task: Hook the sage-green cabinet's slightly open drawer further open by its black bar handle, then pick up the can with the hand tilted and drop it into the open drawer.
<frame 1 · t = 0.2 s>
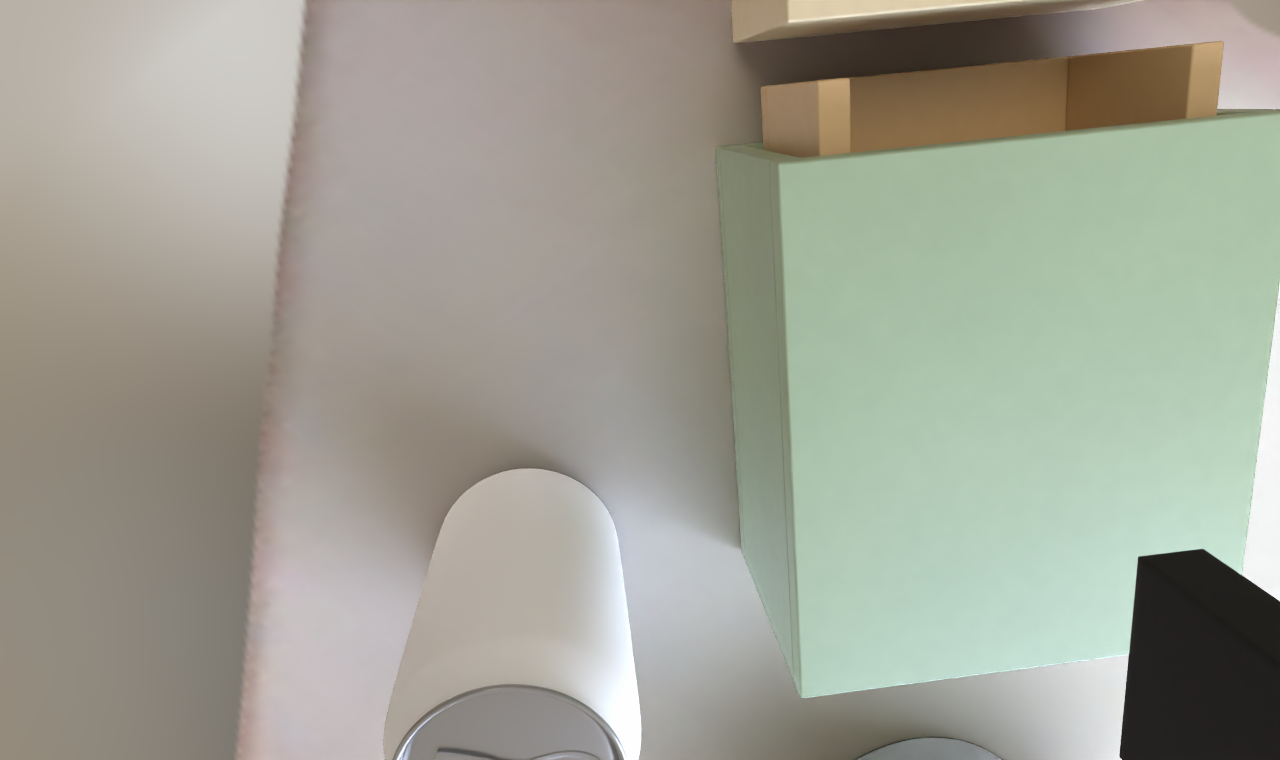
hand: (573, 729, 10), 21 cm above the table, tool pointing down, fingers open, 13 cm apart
can: (529, 543, 32), on the table
drawer: (964, 117, 24), point 4 cm above the table, slide at 3.0 cm
cabinet: (906, 343, 31), on the table
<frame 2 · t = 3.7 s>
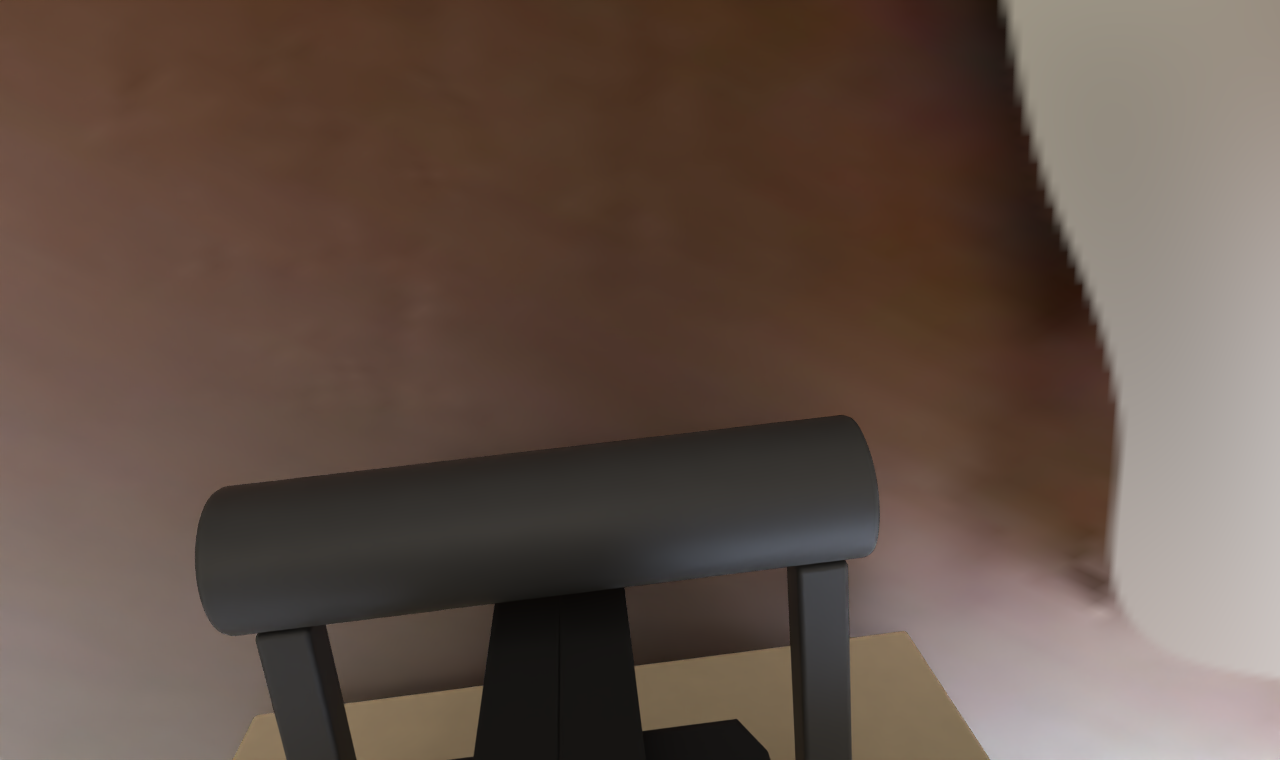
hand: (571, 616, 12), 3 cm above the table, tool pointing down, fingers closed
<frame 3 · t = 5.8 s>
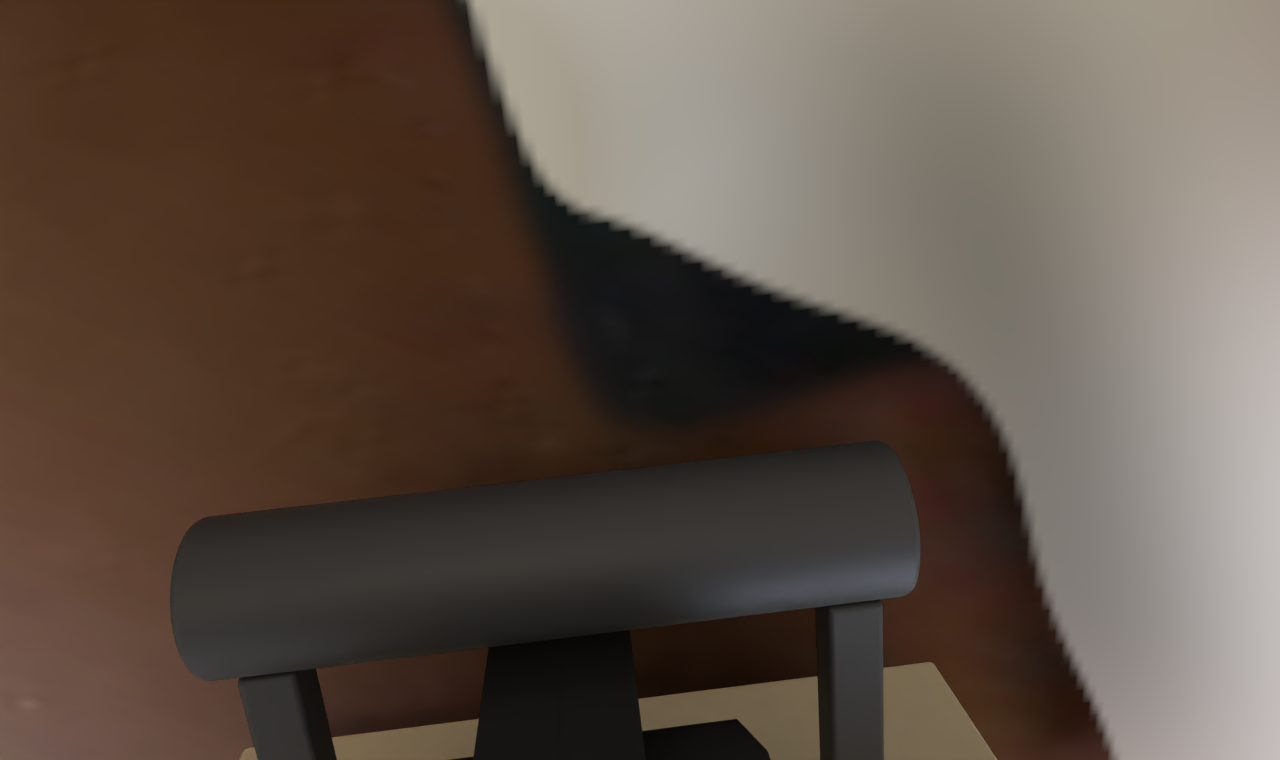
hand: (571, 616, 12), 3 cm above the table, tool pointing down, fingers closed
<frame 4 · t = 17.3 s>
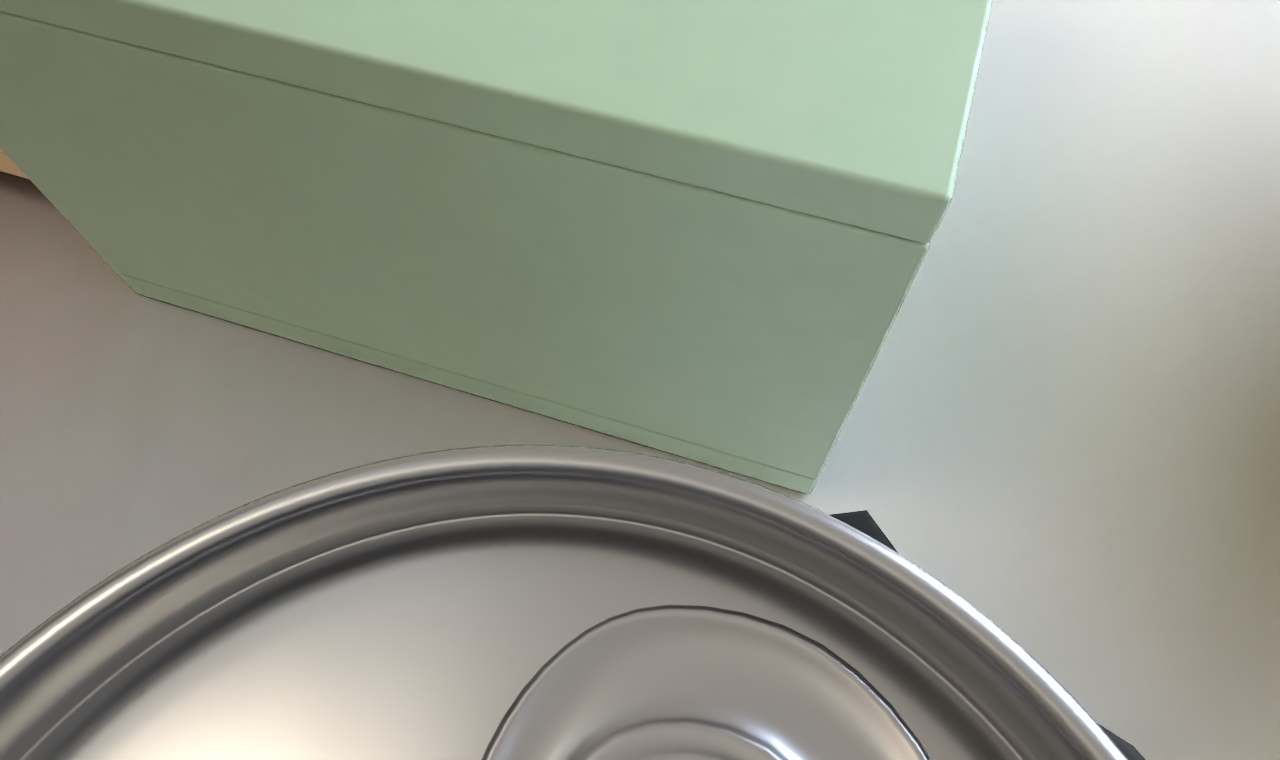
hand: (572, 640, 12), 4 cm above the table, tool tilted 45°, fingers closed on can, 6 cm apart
cabinet: (562, 157, 20), on the table
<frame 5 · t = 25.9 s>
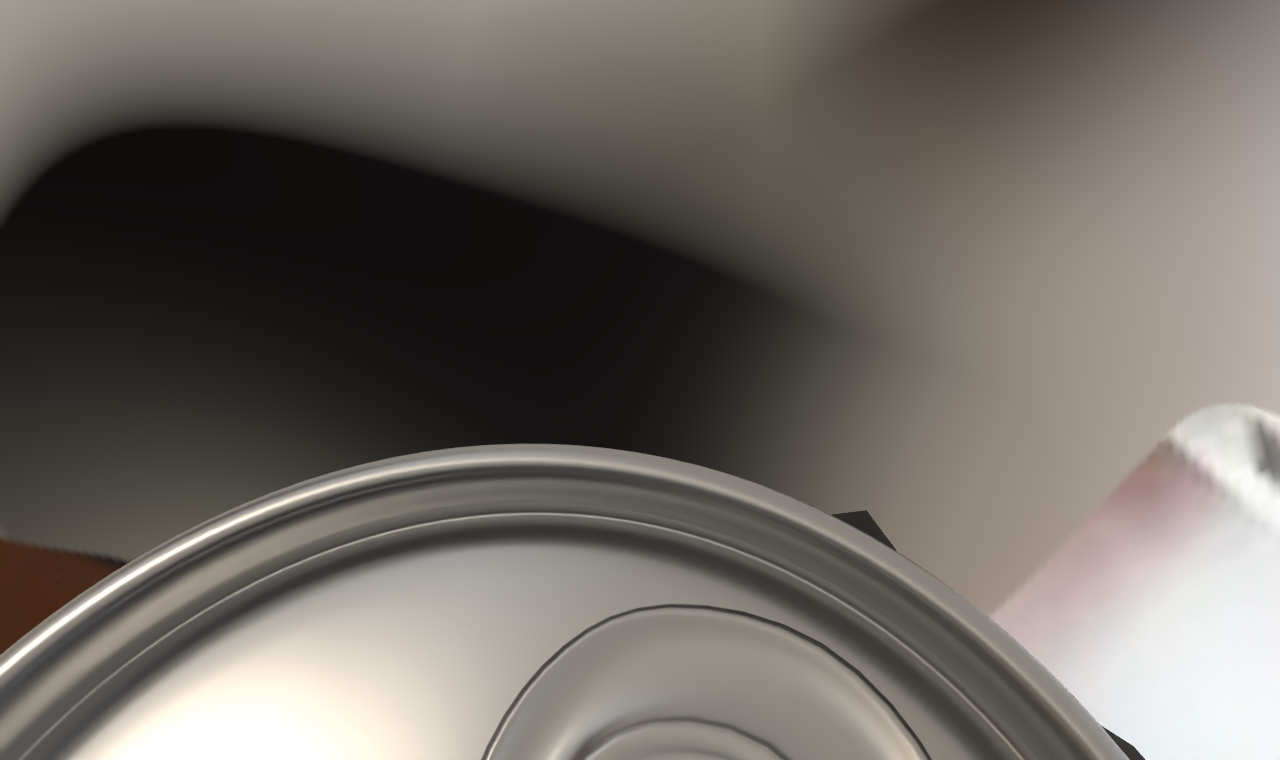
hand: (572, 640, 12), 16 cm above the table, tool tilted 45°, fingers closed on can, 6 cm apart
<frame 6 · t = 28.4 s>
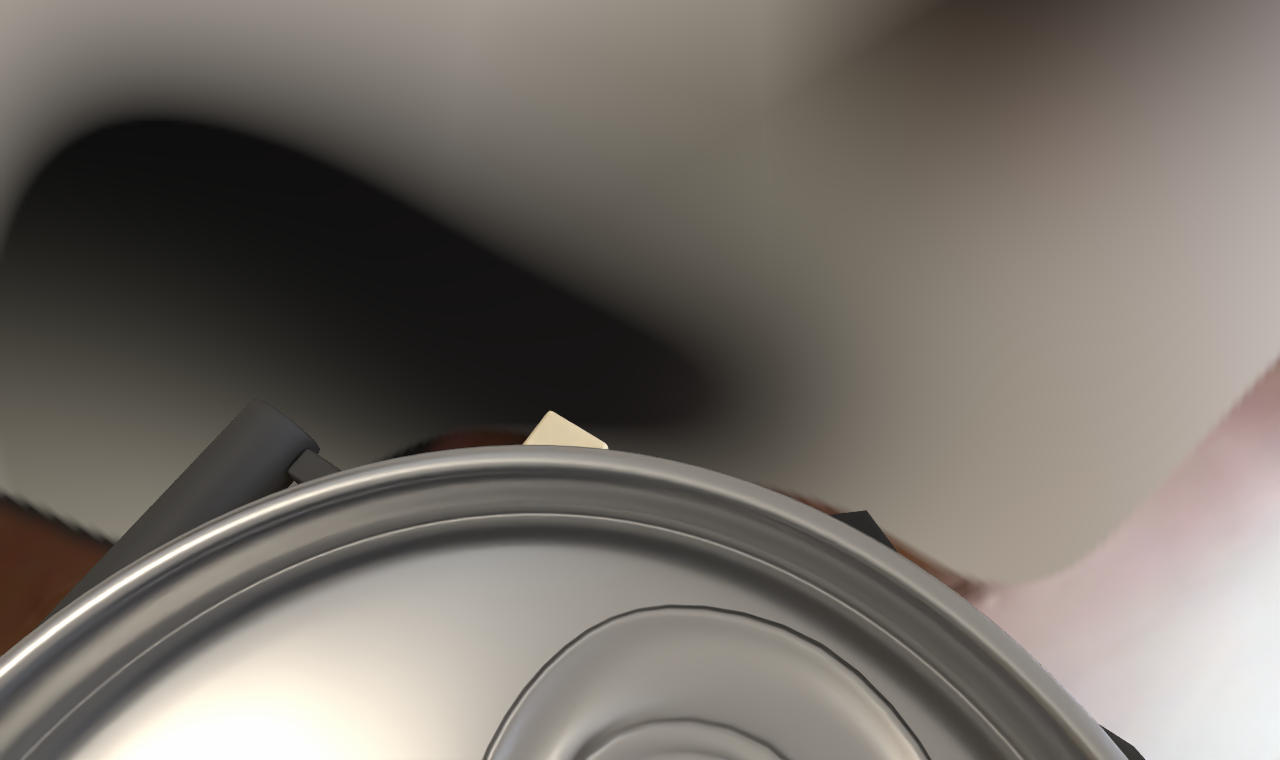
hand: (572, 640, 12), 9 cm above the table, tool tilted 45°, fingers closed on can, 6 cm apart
when the fingers open (10 cm above the table, at t = 34.8 s): can drops 3 cm, resting on drawer.
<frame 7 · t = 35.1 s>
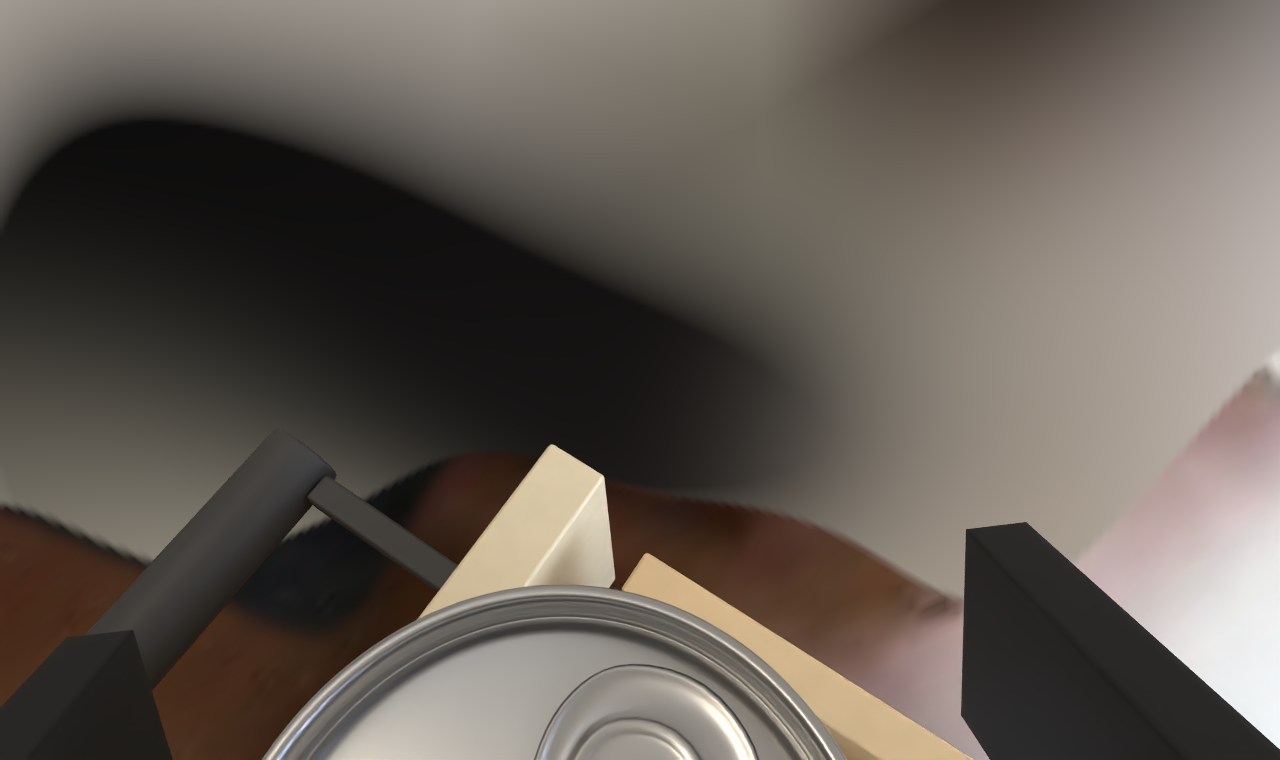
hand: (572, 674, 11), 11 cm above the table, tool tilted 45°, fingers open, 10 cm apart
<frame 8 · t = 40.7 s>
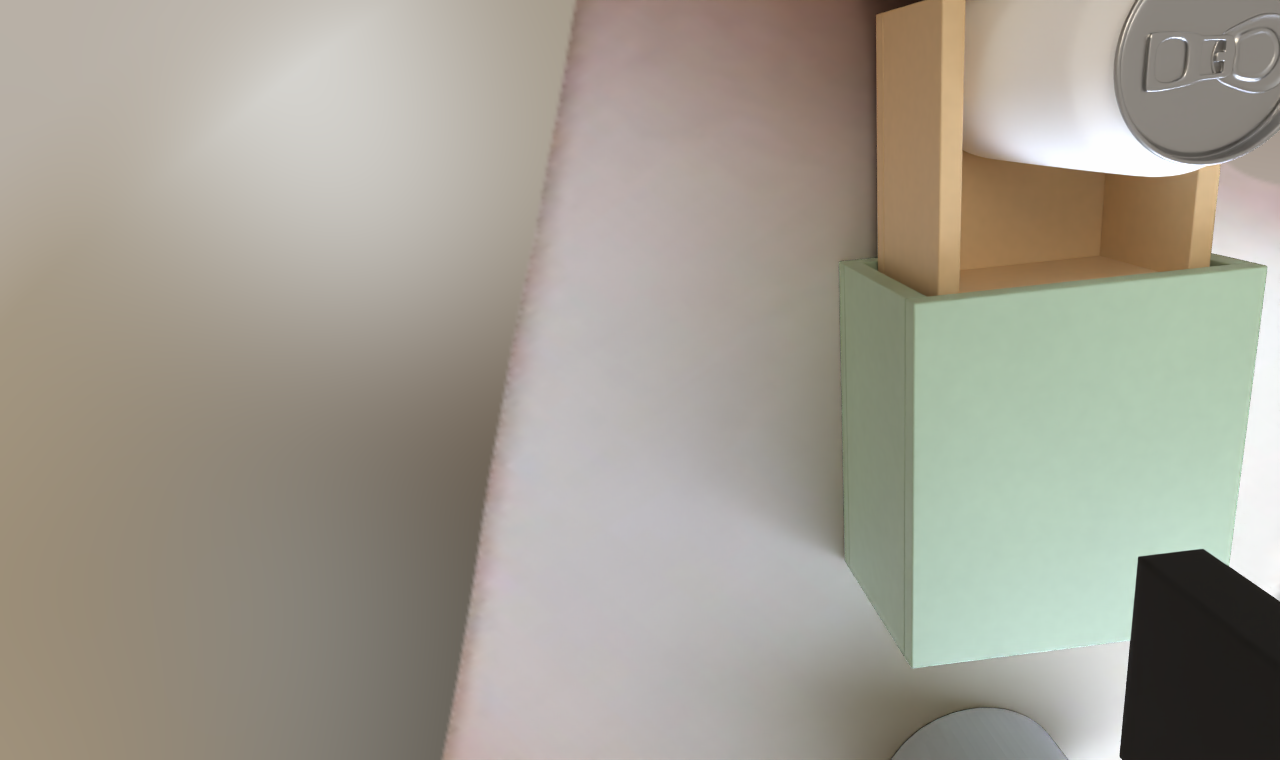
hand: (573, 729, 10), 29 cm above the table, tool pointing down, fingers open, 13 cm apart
can: (998, 73, 34), point 2 cm above the table, touching drawer
drawer: (1040, 33, 32), point 4 cm above the table, slide at 11.0 cm, touching can
cabinet: (975, 404, 41), on the table
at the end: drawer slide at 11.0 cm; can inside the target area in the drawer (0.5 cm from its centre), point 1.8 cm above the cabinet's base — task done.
